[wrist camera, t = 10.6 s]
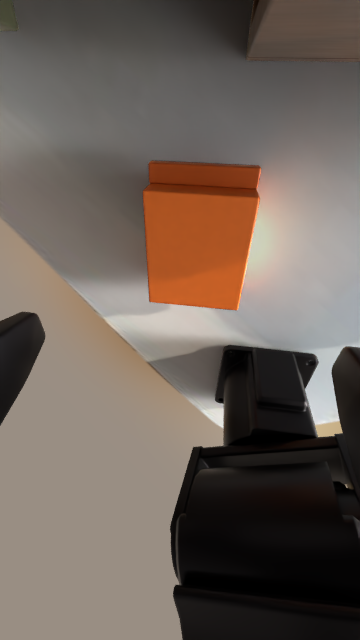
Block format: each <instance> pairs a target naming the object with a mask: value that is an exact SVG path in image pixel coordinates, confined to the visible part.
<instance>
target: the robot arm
mask: <svg viewBox="0 0 360 640" xmlns="http://www.w3.org/2000/svg"><path fill="white" fill-rule="evenodd" d="M44 340H45V332H44V329H43V327H42V324H41V321H40V319H39V317H38V315H37V314H35V313H30V312H20V313H18V314H16V315H13V316H11V317H9V318H6V319H4V320H2V321H0V425H1V423H2V422H3V420H4V418H5V417H6V415H7V413H8V412H9V410H10V408H11V406H12V405H13V403H14V401H15V400H16V398H17V396H18V394H19V392H20V391H21V389H22V388H23V386H24V384H25V382H26V380H27V378H28V376H29V374H30V372H31V369H32V367H33V365H34V363H35V360H36V358H37V356H38V354H39V352H40V349H41V347H42V345H43V343H44ZM229 352H232V353H229ZM318 363H319V362H318V359H317V356H316V355H314V354H309V353H299V352H290V351H281V350H272V349H262V348H253V347H244V346H235V345H228V346H226V347H224V349H223V354H222V360H221V366H220V371H219V377H218V383H217V388H216V394H215V400H216V402H218V403H223V404H224V446H217V447H206V448H203V447H202V446H200V447H193V450H192V453H191V457H190V460H189V463H188V466H187V470H186V473H185V477H184V480H183V484H182V487H181V490H180V494H179V497H178V501H177V504H176V507H175V511H174V515H173V518H172V521H171V526H170V531H171V554H172V561H173V567H174V570H175V574H176V577H177V578H178V581H179V585H176V586H175V587H174V591H173V597H174V601H175V604H176V608H177V611H178V614H179V618H180V623H181V631H182V638H183V640H360V348H358V347H349V346H348V347H344V348H343V349H342V351H341V353H340V354H339V356H338V358H337V360H336V361H335V363H334V365H333V367H332V378H333V384H334V390H335V396H336V402H337V408H338V414H339V419H340V424H341V427H342V431H343V433H341V434H335V436H329V437H318V435H317V432H316V428H315V424H314V421H313V417H312V414H311V410H310V407H309V403H308V400H307V396H306V393H305V388H306V386H307V384H308V382H309V381H310V379H311V377H312V375H313V373H314V371H315V369H316V367H317V365H318ZM344 484H347V486H348V488H346V486H345V485H344Z"/></svg>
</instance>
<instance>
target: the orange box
mask: <svg viewBox="0 0 360 640" xmlns="http://www.w3.org/2000/svg"><path fill="white" fill-rule="evenodd" d="M148 167H149V182H150V184H149V185H148V186H147V187H146V188H145V189H144V190H143V205H144V222H145V238H146V254H147V270H148V287H149V301H150V302H156V303H166V304H177V305H187V306H197V307H208V308H218V309H229V310H238V306H239V301H240V296H241V291H242V286H243V282H244V277H245V272H246V267H247V262H248V257H249V252H250V247H251V242H252V237H253V232H254V226H255V221H256V216H257V211H258V206H259V201H260V197H259V194H258V192H257V188H258V184H259V179H260V173H261V167H260V166H259V165H239V164H218V163H197V162H175V161H154V160H152V161H150V162H149V164H148Z"/></svg>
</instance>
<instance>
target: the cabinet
mask: <svg viewBox="0 0 360 640" xmlns="http://www.w3.org/2000/svg"><path fill="white" fill-rule="evenodd" d="M246 60H247V61H324V62H360V0H253V6H252V13H251V21H250V29H249V37H248V45H247V53H246Z"/></svg>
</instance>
